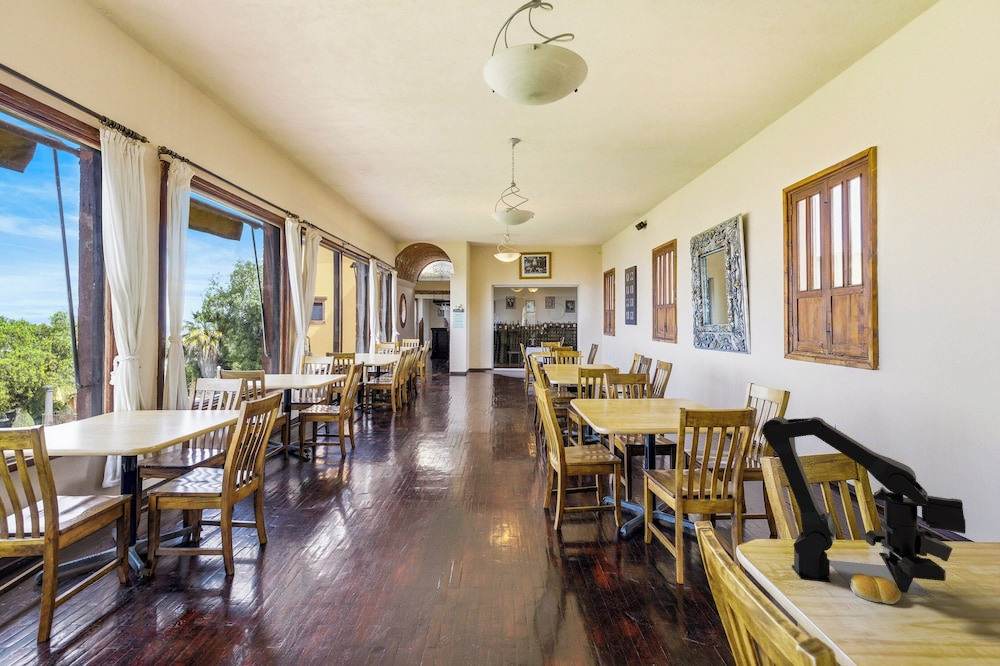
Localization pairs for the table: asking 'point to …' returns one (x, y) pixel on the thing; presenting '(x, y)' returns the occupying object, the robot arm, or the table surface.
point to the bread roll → (874, 588)
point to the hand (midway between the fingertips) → (903, 591)
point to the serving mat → (872, 574)
